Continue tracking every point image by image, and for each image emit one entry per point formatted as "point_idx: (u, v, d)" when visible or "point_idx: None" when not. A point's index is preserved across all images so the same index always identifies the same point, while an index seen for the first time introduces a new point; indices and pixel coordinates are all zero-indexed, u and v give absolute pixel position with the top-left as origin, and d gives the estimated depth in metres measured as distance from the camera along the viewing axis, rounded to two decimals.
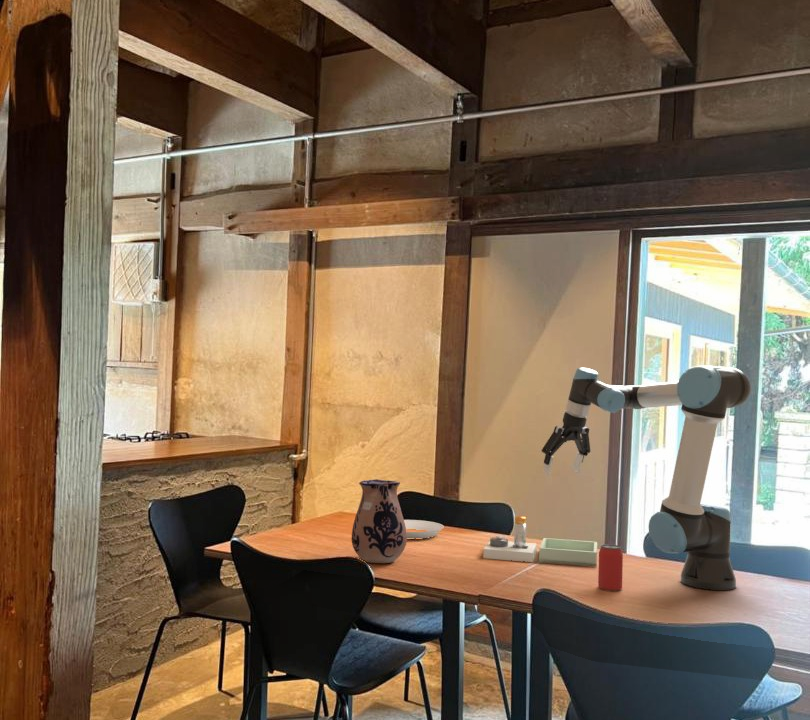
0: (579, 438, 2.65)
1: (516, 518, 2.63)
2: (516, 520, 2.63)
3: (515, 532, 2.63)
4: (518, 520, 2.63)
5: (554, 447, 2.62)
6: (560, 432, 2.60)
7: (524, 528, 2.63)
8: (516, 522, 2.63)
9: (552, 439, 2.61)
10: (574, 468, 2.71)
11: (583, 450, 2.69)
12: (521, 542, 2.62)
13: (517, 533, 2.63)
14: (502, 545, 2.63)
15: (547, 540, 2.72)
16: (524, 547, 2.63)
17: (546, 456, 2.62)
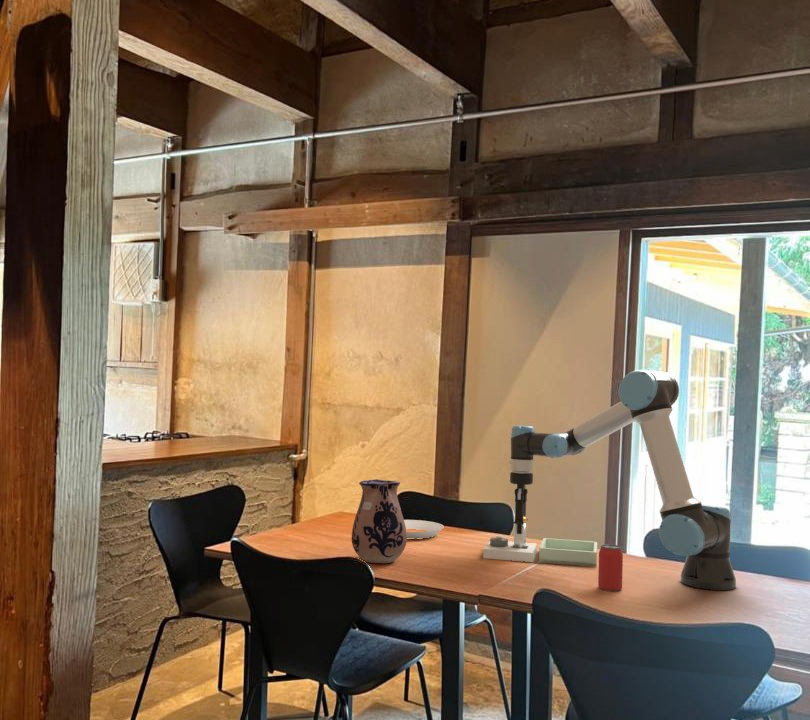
0: (526, 497, 2.66)
1: None
2: None
3: None
4: None
5: None
6: (523, 497, 2.59)
7: (524, 528, 2.63)
8: None
9: (519, 507, 2.59)
10: None
11: (525, 514, 2.67)
12: None
13: None
14: (502, 545, 2.63)
15: (547, 540, 2.72)
16: (524, 547, 2.63)
17: (518, 525, 2.61)
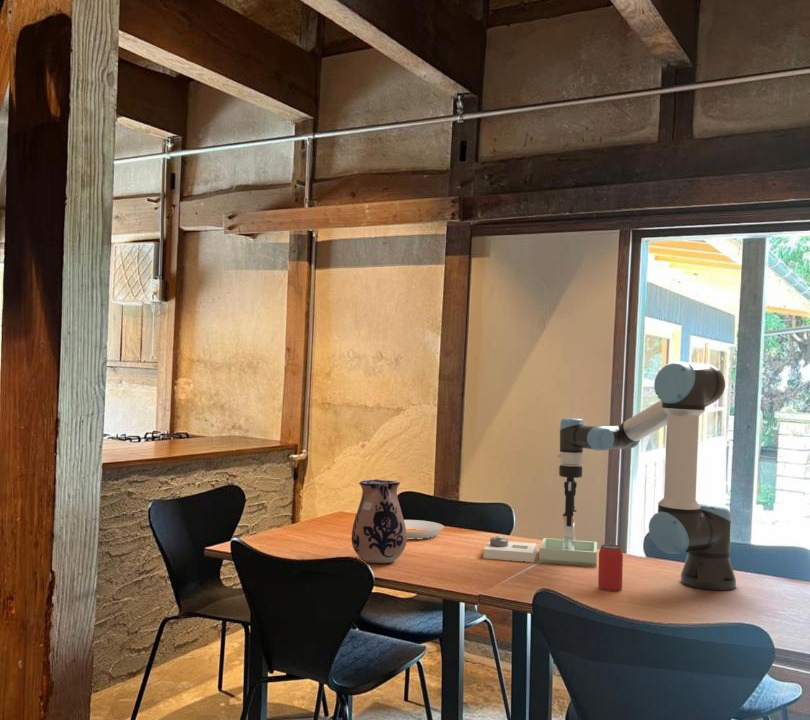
0: (575, 490, 2.64)
1: (564, 517, 2.61)
2: (564, 519, 2.61)
3: (564, 532, 2.61)
4: None
5: None
6: (573, 488, 2.57)
7: (573, 527, 2.61)
8: (564, 521, 2.61)
9: (569, 498, 2.56)
10: None
11: None
12: (570, 541, 2.60)
13: None
14: (502, 545, 2.63)
15: (547, 540, 2.72)
16: (573, 546, 2.61)
17: (568, 518, 2.57)
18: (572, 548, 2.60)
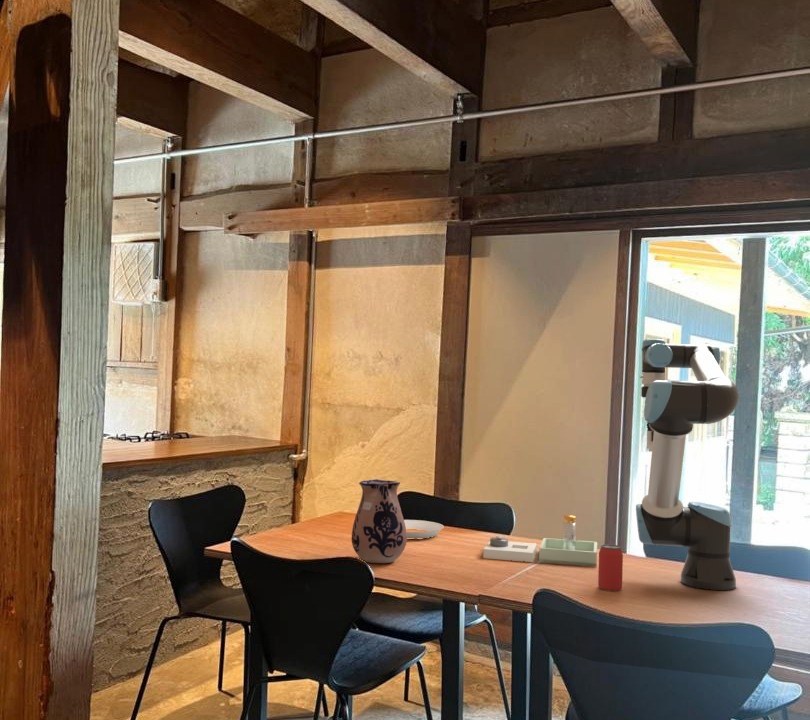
0: None
1: (566, 517, 2.61)
2: (566, 519, 2.61)
3: (564, 531, 2.61)
4: (567, 519, 2.61)
5: None
6: None
7: (574, 527, 2.61)
8: (566, 521, 2.61)
9: None
10: None
11: None
12: (570, 541, 2.60)
13: (567, 533, 2.61)
14: (502, 545, 2.63)
15: (547, 540, 2.72)
16: (574, 546, 2.61)
17: (653, 433, 2.54)
18: (572, 548, 2.60)
